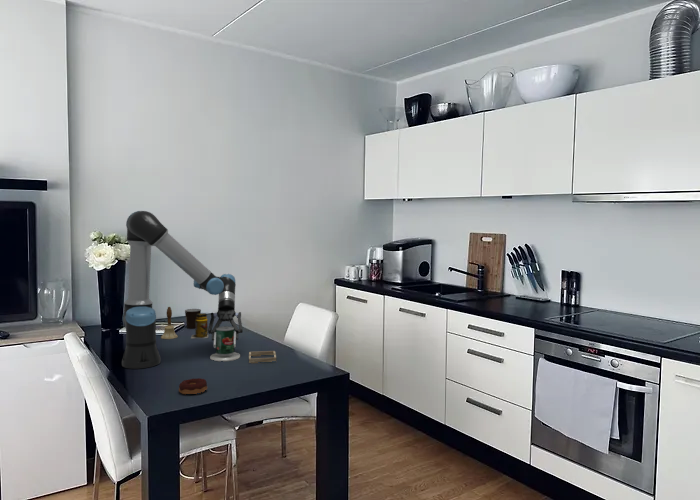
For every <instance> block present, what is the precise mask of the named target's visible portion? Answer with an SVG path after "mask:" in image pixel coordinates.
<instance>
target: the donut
mask: <svg viewBox="0 0 700 500" xmlns="http://www.w3.org/2000/svg"><path fill="white" fill-rule="evenodd" d="M207 383H208V382H207V380H206V379H205V378H202V377H201V378H200V377H199V378H190V379H184V380H183V381H181V382H180V383H179V385H178V392H179V393H180V394H182V395H186V394H196V395H198V394H197V393H200V394H202V393H205V390H206V391H207V390H208V384H207ZM201 392H202V393H201Z"/></svg>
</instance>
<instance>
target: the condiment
mask: <svg viewBox="0 0 700 500" xmlns="http://www.w3.org/2000/svg"><path fill="white" fill-rule="evenodd" d="M208 321H209V320H208V314H207V313H203V312H202V313H199V314H197V315H196V320H195V324H196V326H195V327H196V329H195V330H194V331H195V334H192V335H190V336H191V337H190V339H208V338H209V333H208V327H209V324H208Z"/></svg>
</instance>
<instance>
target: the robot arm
mask: <svg viewBox="0 0 700 500" xmlns="http://www.w3.org/2000/svg"><path fill="white" fill-rule="evenodd" d="M125 226H126V242H127V243H128V244H129V245H130V248H129V268H128V269H129V270H128V271H129V272H128V273H129V274H128V292H127V293H128V295H127V299H126V300H125V301H124V302H123V313H122V319H121V320H122V323H123V326H124V327H125V340H126V341H125V349H124V350H125V351H124V352H123V355H122V359H121V366H122V367H123V368H126V369H132V370H133V369H135V370H137V369H145V368H146V369H147V368H152V367H154V366H158V365H159V364H161V355H160V352H159V349H158V346H157V331H156V330H157V322H156V321H157V314H156V310H155V309H154V308H153V301H152V300H151V299H150V281H151V261H152V260H151V259H152V258H151V257H152V247H155V248H157V249H158V250H159V251H161V252H162V253H163V255H165V256H166V257H167V258H168V259H169V260H170V261H172V262H173V263H174V264H175V265H177V266H178V267H179V268H180V269H181V270H182V271H183V272H184V273H185V274H186V275H188V276H189V277H190V278H192V279H193V287H195V289H196V288H197V289H199V290H200V289H201V290H204V291H205V292H207V293H208V294H209V295H213V296H214V295H215V296H216V295H218V305H217V306H218V307H217V311H216V312H215V313H214V312H210V320H209V324H208V334H211V341H213V348H214V349H216V328H218V327H221V324H222V323H223V322H230V324H231V327H234V348H236V345H237V344H236V343H237V342H236V341H238V340H239V335H240V334H243V332H244V331H243V330H244V329H243V323H242V319H241V318H242V312H241V311H239V312H236V311H235V310H236V309H235V307H236V305H235V304H236V278H235V276H234V275H232V274H231V273H223V274H222V275H220V276H216V275H215V274H214V273H213V272H211V270H209V268H208V267H207V266H205V265H204V264H203V263H202V262H201V261H200V260H198V259H197V258H196V257H195V256H194V255H193V254H192V253H191V252H190V251H189V250H188V249H186V248H185V247H184V246H183V245H182V244H181V243H180V242H178V240H176V239H175V238H174V237H173V236H172V235H171V234H170V233H169V230H168V228H167V227H166V226H165V225H164V224H162V222H161V221H160V220H159V219H158V218H157V216H156V215H154V214H153V213H152V212H150V211H146V210H137V211H134V212H132V213H131V214H130V215H129V216H128V217H127V219H126V225H125ZM216 317H217V319H218V320H217V321H216V323H215V319H216ZM234 317H236V319H237V323H238V326H237V324H236V322H235V320H234ZM214 323H215V325H214ZM213 326H214V327H213Z"/></svg>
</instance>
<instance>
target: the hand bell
mask: <svg viewBox="0 0 700 500" xmlns="http://www.w3.org/2000/svg"><path fill="white" fill-rule="evenodd" d="M172 316H173V311H172V308H171V306H167V309H166V318H167V326H165V327H164V331H163V334H162V335H161V336H160V339H162V340H174V339H178V335H177V333H176V332H175V327H174V326H173V325H172Z"/></svg>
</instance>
